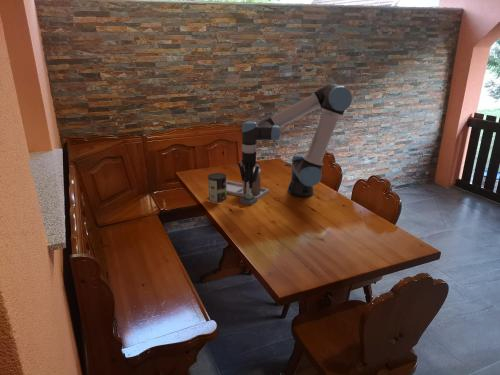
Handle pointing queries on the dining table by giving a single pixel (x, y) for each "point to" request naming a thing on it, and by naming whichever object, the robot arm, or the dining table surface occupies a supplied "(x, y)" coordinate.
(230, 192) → the pallet board
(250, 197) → the button
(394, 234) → the dining table surface
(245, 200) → the button box
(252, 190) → the seated tin
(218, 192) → the coffee can
